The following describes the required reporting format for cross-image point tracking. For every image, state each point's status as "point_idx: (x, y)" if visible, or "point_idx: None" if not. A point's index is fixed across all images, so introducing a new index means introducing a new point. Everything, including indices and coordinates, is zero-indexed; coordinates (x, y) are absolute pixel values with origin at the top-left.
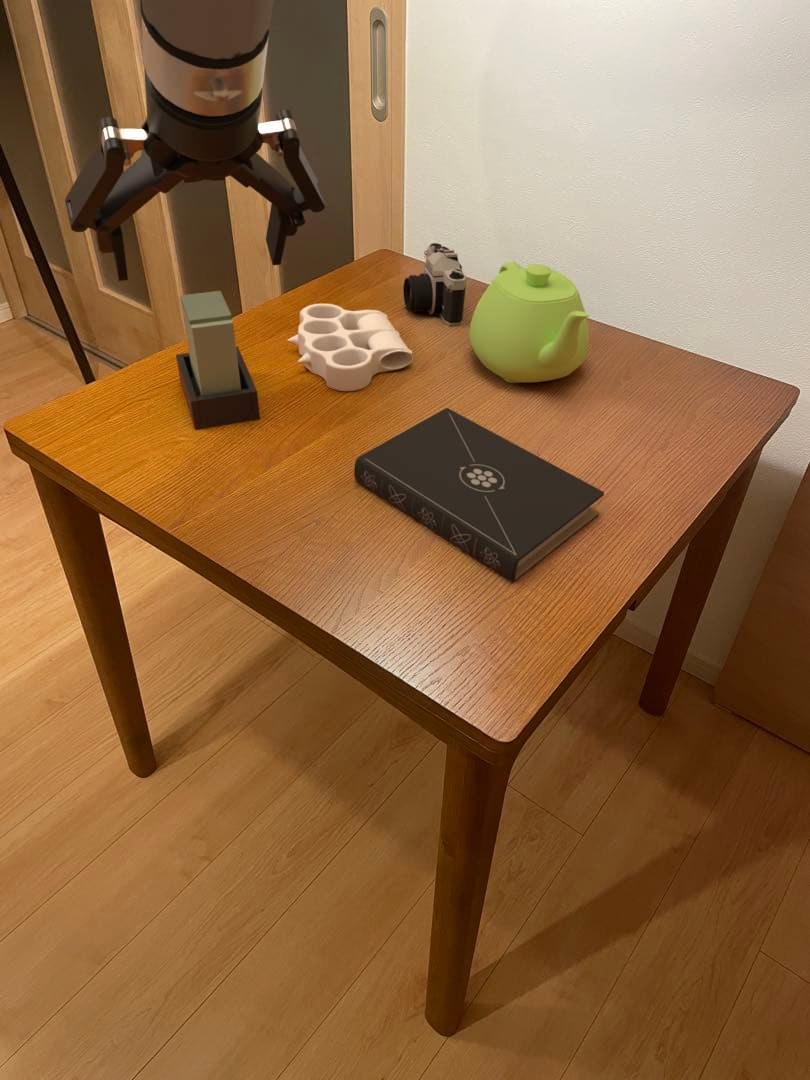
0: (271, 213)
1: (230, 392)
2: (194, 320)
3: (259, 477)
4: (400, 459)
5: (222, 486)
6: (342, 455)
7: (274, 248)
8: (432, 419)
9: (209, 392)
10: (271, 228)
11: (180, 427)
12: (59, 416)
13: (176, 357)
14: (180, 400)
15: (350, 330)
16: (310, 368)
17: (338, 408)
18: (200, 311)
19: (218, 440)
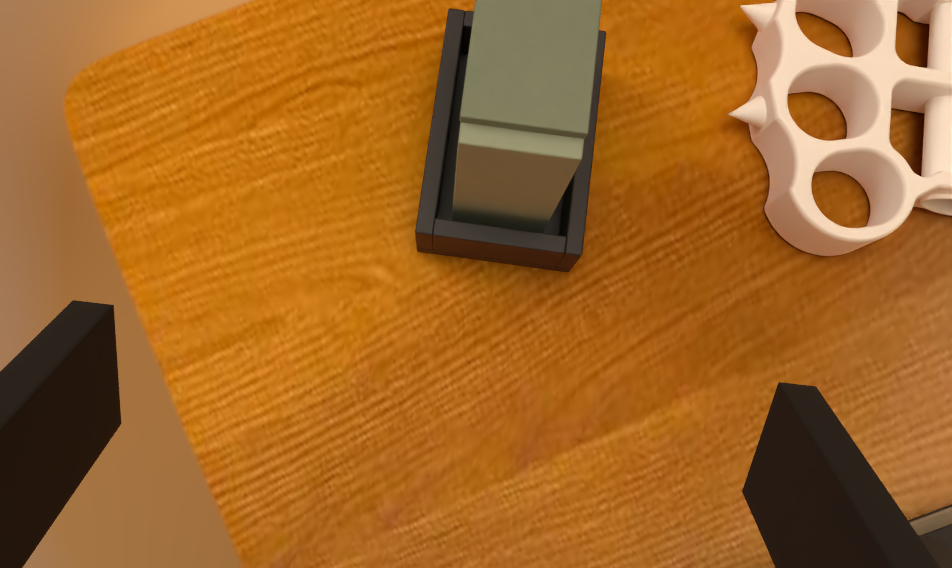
0: (867, 558)
1: (518, 234)
2: (474, 119)
3: (489, 492)
4: None
5: (403, 489)
6: (694, 494)
7: (781, 556)
8: (948, 542)
9: (471, 208)
10: (822, 523)
11: (389, 227)
12: (154, 70)
13: (447, 17)
14: (423, 120)
15: (907, 66)
16: (752, 129)
17: (755, 308)
18: (508, 75)
19: (452, 314)
